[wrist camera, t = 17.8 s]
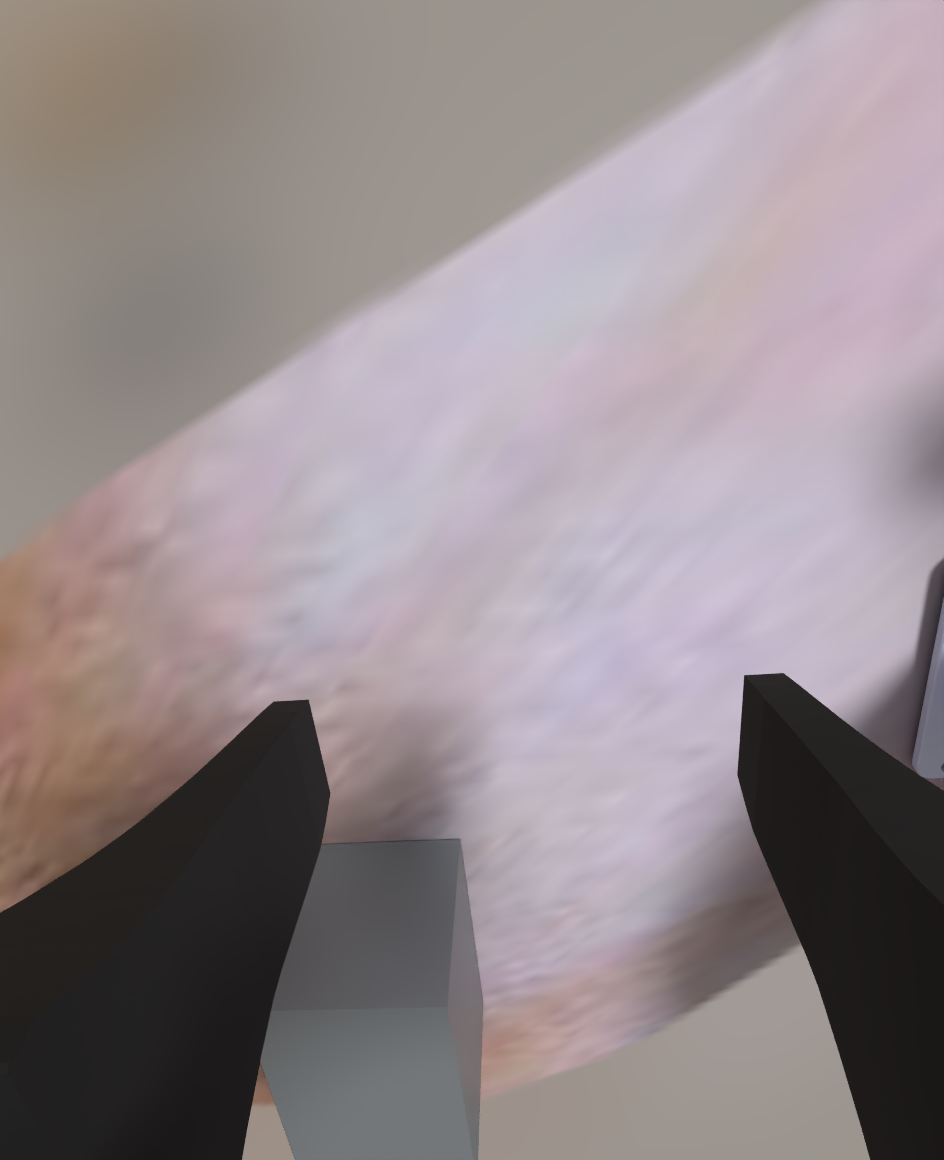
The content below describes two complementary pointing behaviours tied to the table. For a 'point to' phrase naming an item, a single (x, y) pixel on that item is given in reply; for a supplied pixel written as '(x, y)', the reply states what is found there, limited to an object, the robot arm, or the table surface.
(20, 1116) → the robot arm
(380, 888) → the gray block
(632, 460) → the table surface
